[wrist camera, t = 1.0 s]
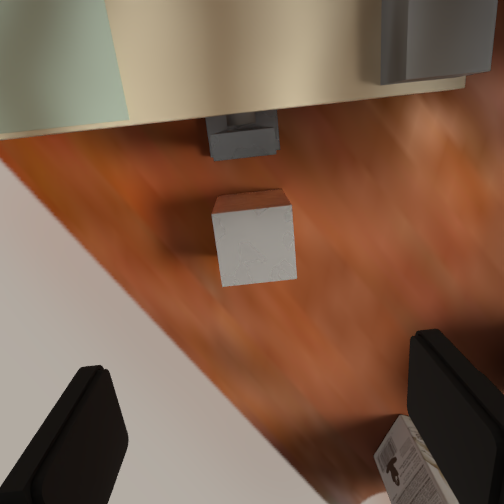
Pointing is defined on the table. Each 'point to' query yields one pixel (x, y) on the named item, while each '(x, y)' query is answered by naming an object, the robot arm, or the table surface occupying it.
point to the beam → (225, 57)
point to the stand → (243, 137)
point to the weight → (254, 237)
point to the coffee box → (410, 468)
